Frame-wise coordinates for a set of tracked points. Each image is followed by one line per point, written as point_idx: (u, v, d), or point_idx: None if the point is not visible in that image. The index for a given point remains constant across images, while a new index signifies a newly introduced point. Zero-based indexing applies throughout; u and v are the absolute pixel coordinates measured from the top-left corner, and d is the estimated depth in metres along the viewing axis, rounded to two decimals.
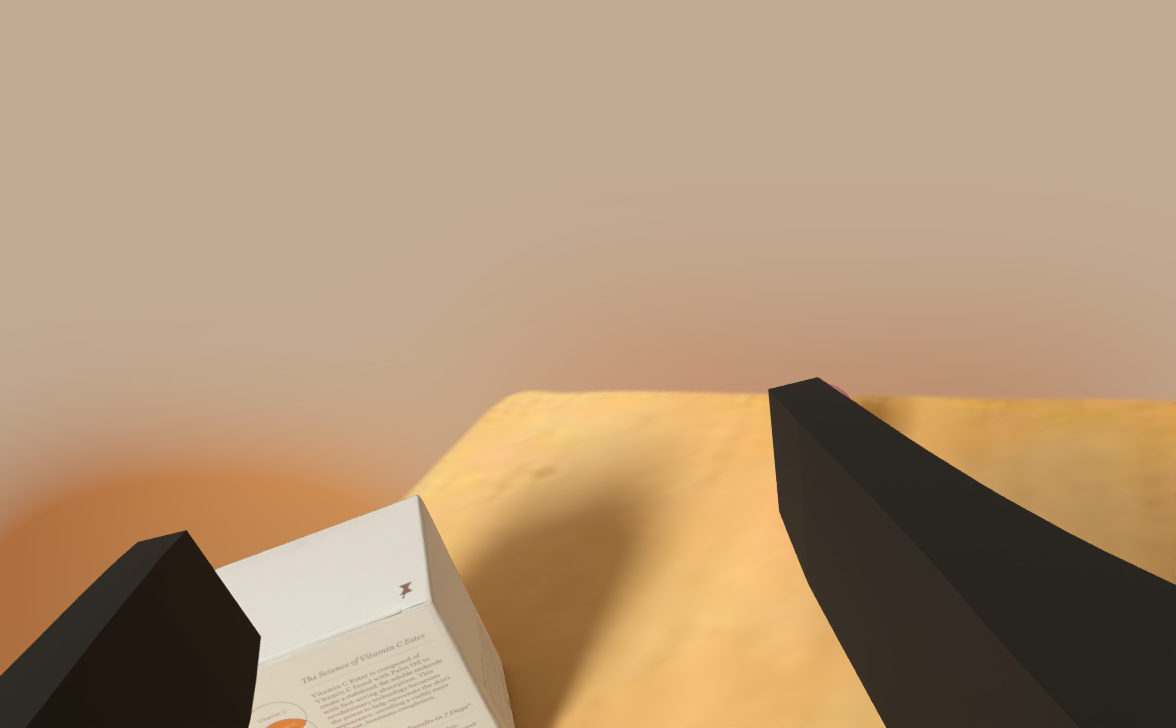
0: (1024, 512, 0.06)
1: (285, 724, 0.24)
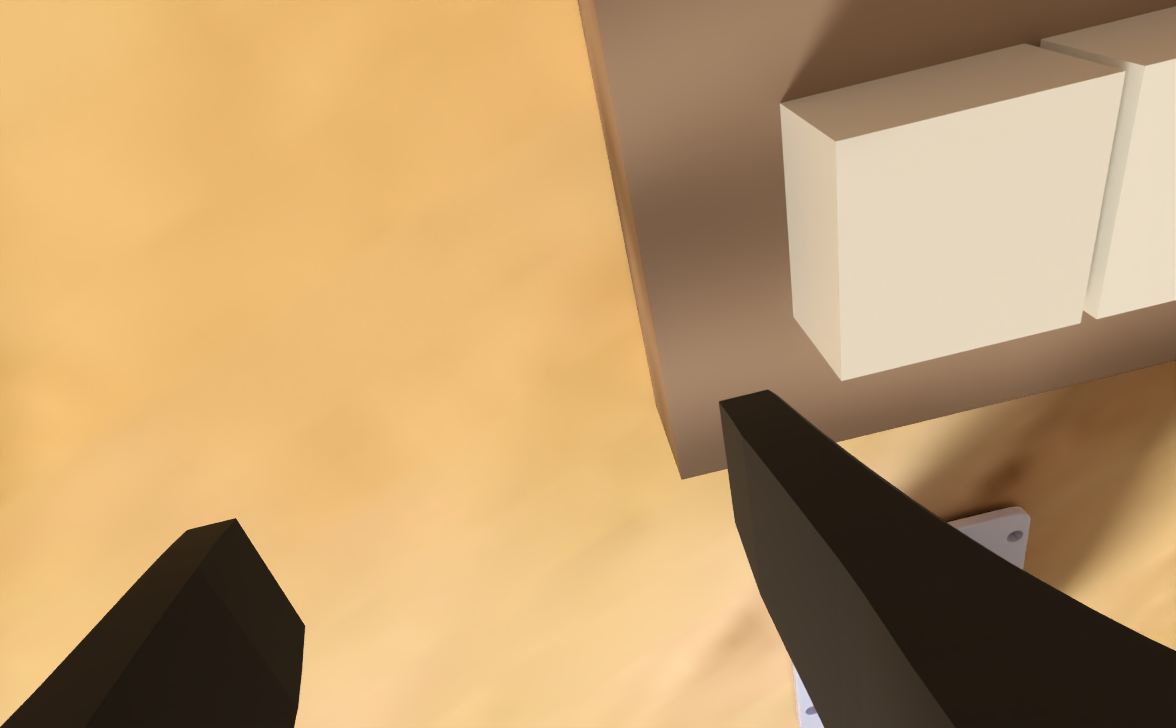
0: (950, 530, 0.06)
1: None
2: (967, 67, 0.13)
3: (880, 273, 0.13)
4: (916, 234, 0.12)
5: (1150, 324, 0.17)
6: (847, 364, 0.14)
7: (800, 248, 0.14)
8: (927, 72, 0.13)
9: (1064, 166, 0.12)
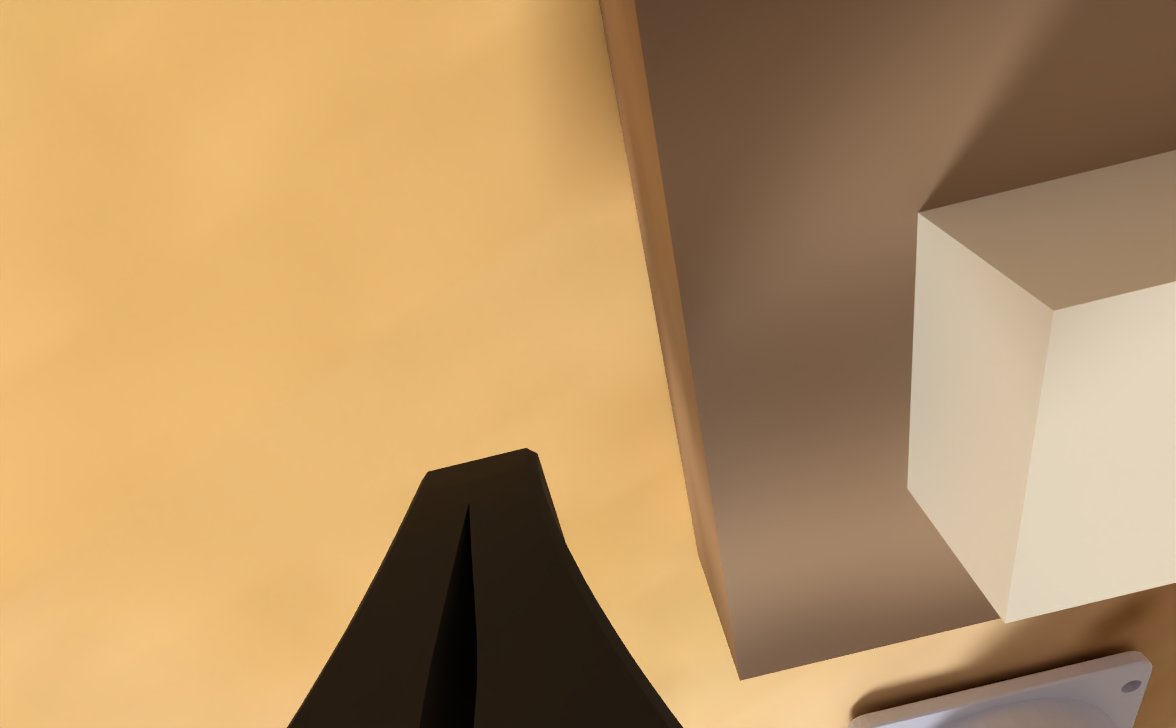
0: (591, 616, 0.06)
1: None
2: None
3: (1088, 488, 0.08)
4: (1153, 434, 0.08)
5: None
6: (1017, 603, 0.09)
7: (937, 417, 0.10)
8: (1147, 169, 0.09)
9: None
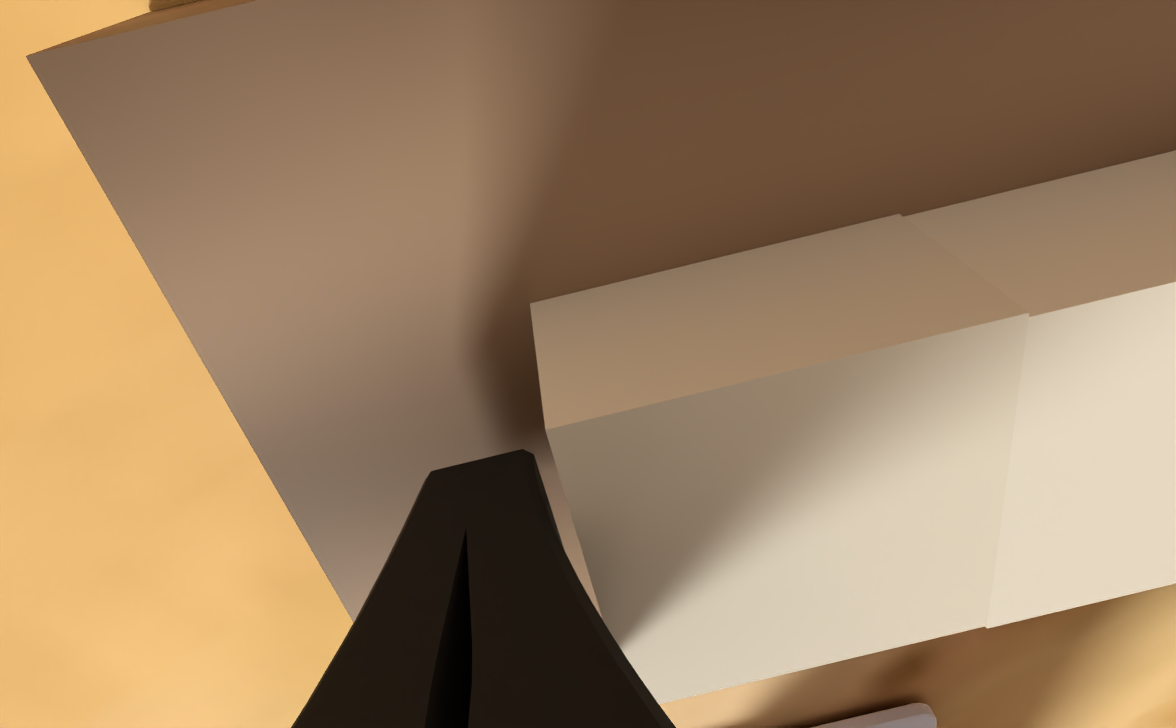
0: (586, 618, 0.06)
1: None
2: (804, 260, 0.08)
3: (662, 588, 0.08)
4: (710, 538, 0.08)
5: None
6: None
7: None
8: (747, 263, 0.09)
9: (939, 443, 0.07)
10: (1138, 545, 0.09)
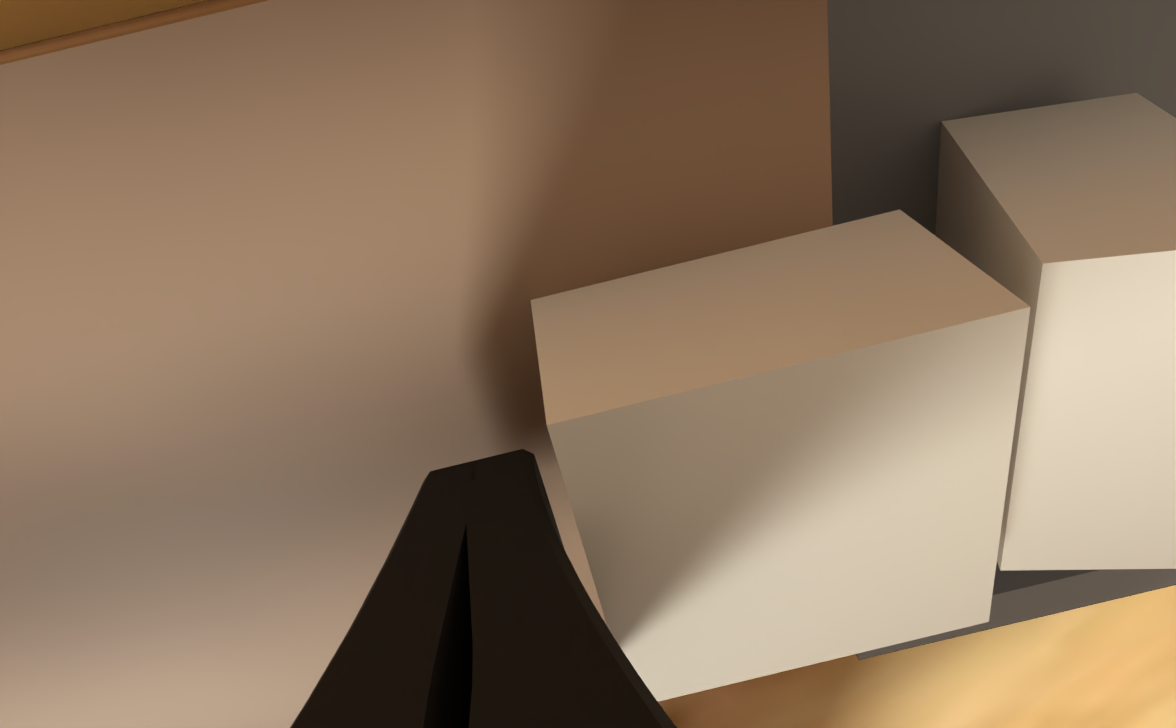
0: (586, 618, 0.06)
1: None
2: (805, 255, 0.08)
3: (663, 584, 0.08)
4: (712, 534, 0.08)
5: None
6: None
7: None
8: (748, 258, 0.09)
9: (941, 438, 0.07)
10: None
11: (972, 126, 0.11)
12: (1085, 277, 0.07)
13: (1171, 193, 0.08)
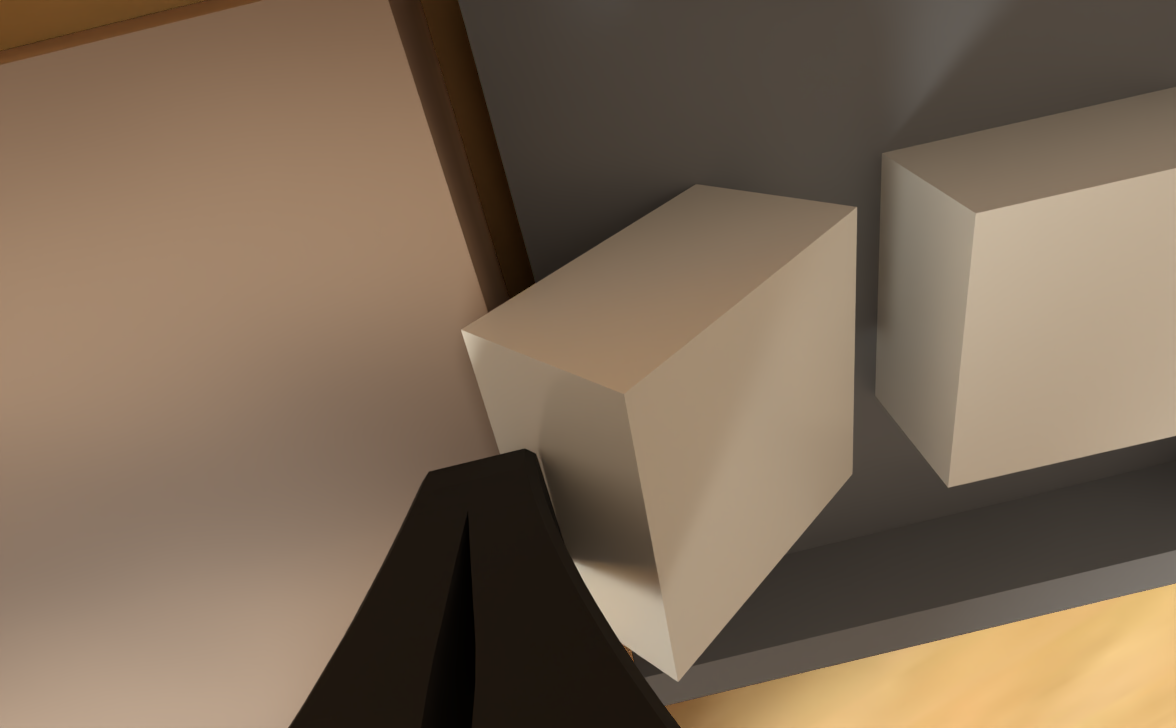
0: (589, 617, 0.06)
1: None
2: (668, 226, 0.10)
3: (696, 530, 0.09)
4: (722, 463, 0.09)
5: None
6: (680, 658, 0.09)
7: None
8: (626, 241, 0.10)
9: (827, 324, 0.10)
10: None
11: (995, 196, 0.09)
12: None
13: (1140, 121, 0.10)
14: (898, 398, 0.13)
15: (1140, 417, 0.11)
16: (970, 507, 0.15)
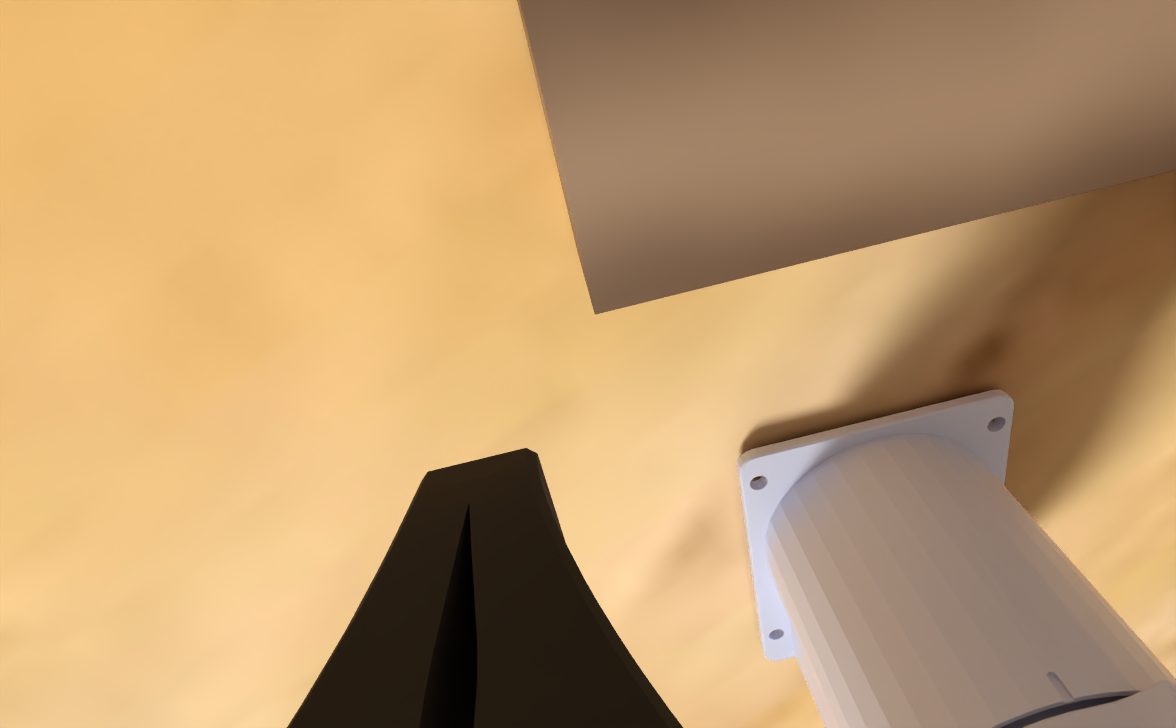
0: (591, 616, 0.06)
1: None
2: None
3: None
4: None
5: (1144, 119, 0.15)
6: None
7: None
8: None
9: None
10: None
11: None
12: None
13: None
14: None
15: None
16: None
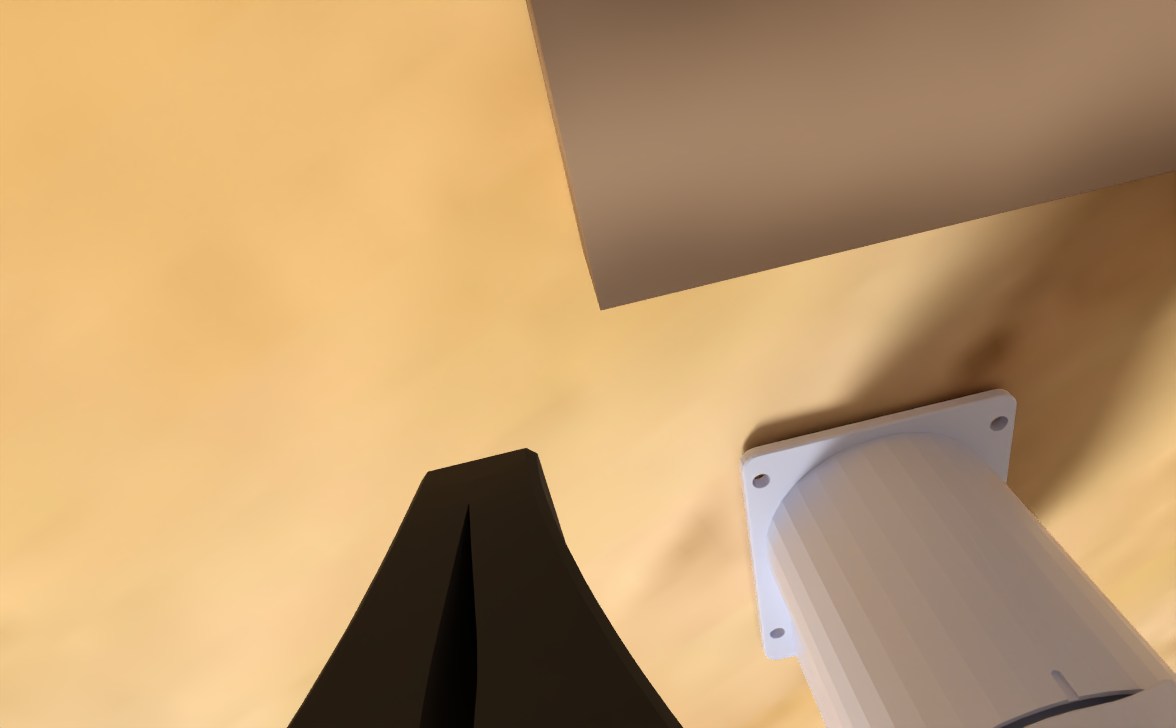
0: (591, 617, 0.06)
1: None
2: None
3: None
4: None
5: (1152, 117, 0.15)
6: None
7: None
8: None
9: None
10: None
11: None
12: None
13: None
14: None
15: None
16: None
